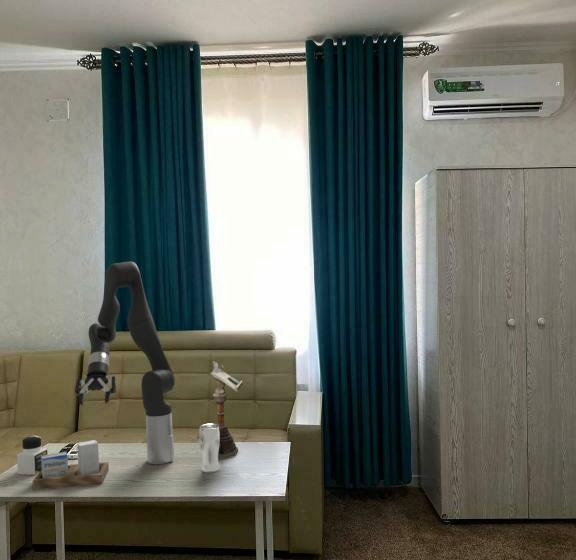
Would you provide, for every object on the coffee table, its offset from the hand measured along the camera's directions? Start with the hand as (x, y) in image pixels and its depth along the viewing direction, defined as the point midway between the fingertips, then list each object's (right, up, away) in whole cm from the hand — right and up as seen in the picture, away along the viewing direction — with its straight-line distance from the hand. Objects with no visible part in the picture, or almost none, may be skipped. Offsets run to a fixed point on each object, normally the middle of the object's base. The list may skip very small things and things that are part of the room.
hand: (94, 403), depth 200 cm
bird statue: (+48, -20, +7) cm, 53 cm away
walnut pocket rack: (-2, -22, -15) cm, 27 cm away
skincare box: (+3, -22, -14) cm, 27 cm away
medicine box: (-7, -22, -16) cm, 28 cm away
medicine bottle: (-19, -23, -6) cm, 31 cm away
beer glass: (+44, -21, -10) cm, 50 cm away
